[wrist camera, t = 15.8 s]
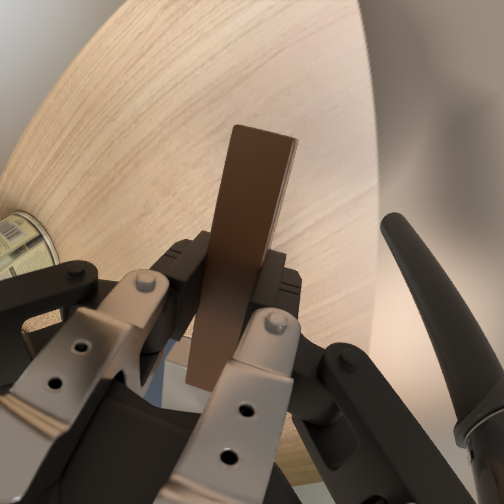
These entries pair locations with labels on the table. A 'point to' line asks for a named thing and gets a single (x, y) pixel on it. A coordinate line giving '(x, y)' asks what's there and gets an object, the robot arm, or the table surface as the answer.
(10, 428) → the robot arm
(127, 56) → the table surface
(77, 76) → the table surface
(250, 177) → the brown and grey bar
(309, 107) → the table surface
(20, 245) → the coffee can
